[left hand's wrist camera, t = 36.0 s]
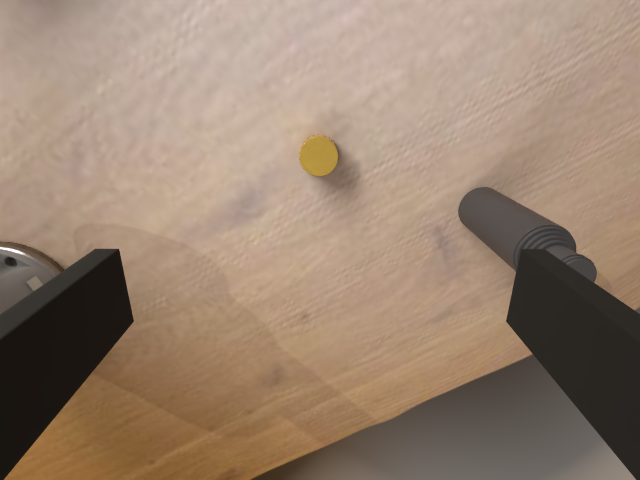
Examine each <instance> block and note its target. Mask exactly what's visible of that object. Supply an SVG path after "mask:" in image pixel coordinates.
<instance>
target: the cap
mask: <svg viewBox="0 0 640 480" xmlns="http://www.w3.org/2000/svg"><path fill="white" fill-rule="evenodd" d="M299 154H300V159H299V160H300V163H301V165H302V167H303V169H304V170H305V171H306V172H307V173H309V174H311V175H314V176H324V175H327V174H329V173H330V172H331V171H333V169H334V168H335V167H336V165H337V162H338V151H337V147H336V146H335V144H334V142H333V141H332V140H331V139H330V138H328V137H326V136H323V135H315V136H314V135H313V136H312V137H310V138H308V139H307V140H306V141H304V143H303V145H302V146H301V151H300V153H299Z"/></svg>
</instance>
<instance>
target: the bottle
mask: <svg viewBox="0 0 640 480" xmlns="http://www.w3.org/2000/svg"><path fill="white" fill-rule="evenodd" d="M459 218H460V220H461V222H462V223H463V224H464V225H465V226H466V227H467V228H468V229H469V230H471V231H472V232H473V233H474V234H475V235H476V236H477V237H478V238H479V239H481V240H482V241H483V242H484V243H485V244H486V245H487V246H488V247H489V248H491V249H492V250H493V251H494V252H495V253H496V254H497V255H498V256H499V257H501V258H502V259H503V260H504V261H505V262H506V263H507V264H508V265H509V266H511V267H512V268H513V269H514V270H515V271H517V266H518V261H519V256H520V252H521V249H545V250H547V251H548V252H550V253H551V254H553V255H554V256H555V257H557V258H558V259H560V260H561V261H563V262H564V263H566V264H567V265H569V266H570V267H572V268H573V269H574V270H576V271H577V272H579V273H580V274H582V275H583V276H585V277H586V278H588V279H589V280H590V281H592V282H593V283H594V281H595V279H596V275H597V271H596V267H595V265H594V263H593V262H592V261H591V260H590V259H588V258H586V257H585V256H583V255H580V254H578V253H576V244H575V241H574V239H573V237H572V235H571V234H570V233H569V232H568V231H567V230H566V229H565V228H563V227H561V226H559V225H558V224H556V223H554V222H552V221H550V220H548V219H547V218H545V217H543V216H541V215H539V214H537V213H536V212H534V211H532V210H530V209H528V208H526V207H525V206H523V205H521V204H519V203H517V202H515V201H514V200H512V199H510V198H508V197H506V196H504V195H503V194H501V193H499V192H497V191H495V190H493V189H491V188H487V187H482V188H477V189H474V190H472V191H470V192H469V193H468V194H467V195H465V197H464V198H463V199H462V201H461V203H460V206H459Z"/></svg>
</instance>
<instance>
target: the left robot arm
mask: <svg viewBox="0 0 640 480" xmlns="http://www.w3.org/2000/svg"><path fill="white" fill-rule="evenodd" d="M133 322H134V320H133V315H132V310H131V305H130V301H129V296H128V291H127V286H126V281H125V276H124V271H123V266H122V261H121V256H120V252H119V249H95V250H93V251H92V252H90V253H89V254H87V255H86V256H85V257H83V258H82V259H80V260H79V261H77V262H76V263H74V264H73V265H71V266H70V267H68V268H67V269H66V270H63V269H62V268H61V267H60V266H59V265H58V264H57V263H56V262H55V261H53V260H52V259H51V258H49V257H48V256H46V255H44V254H43V253H41V252H39V251H37V250H35V249H33V248H30V247H27V246H24V245H21V244H17V243H11V242H0V480H4V479H5V477H6V476H7V475H8V474H9V472H10V471H11V470H12V469H13V468H14V466H15V465H16V464H17V463H18V462H19V460H20V459H21V458H22V457H23V455H24V454H25V453H26V452H27V451H28V449H29V448H30V447H31V446H32V445H33V443H34V442H35V441H36V440H37V438H38V437H39V436H40V435H41V434H42V432H43V431H44V430H45V429H46V427H47V426H48V425H49V424H50V423H51V421H52V420H53V419H54V418H55V417H56V415H57V414H58V413H59V412H60V410H61V409H62V408H63V407H64V406H65V404H66V403H67V402H68V401H69V400H70V398H71V397H72V396H73V395H74V393H75V392H76V391H77V390H78V389H79V387H80V386H81V385H82V384H83V382H84V381H85V380H86V379H87V378H88V376H89V375H90V374H91V373H92V372H93V370H94V369H95V368H96V367H97V365H98V364H99V363H100V362H101V361H102V359H103V358H104V357H105V356H106V355H107V353H108V352H109V351H110V350H111V348H112V347H113V346H114V345H115V344H116V342H117V341H118V340H119V339H120V337H121V336H122V335H123V334H124V333H125V331H126V330H127V329H128V328H129V327H130V325H131V324H132V323H133ZM506 322H507V323H508V324H509V325H510V327H511V328H512V329H513V330H514V331H515V333H516V334H517V335H518V336H519V338H520V339H521V340H522V341H523V342H524V344H525V345H526V346H527V347H528V348H529V350H530V351H531V352H532V353H533V355H534V356H535V357H536V358H537V359H538V361H539V362H540V363H541V364H542V365H543V367H544V368H545V369H546V370H547V372H548V373H549V374H550V375H551V376H552V378H553V379H554V380H555V381H556V382H557V384H558V385H559V386H560V387H561V389H562V390H563V391H564V392H565V393H566V395H567V396H568V397H569V398H570V399H571V401H572V402H573V403H574V404H575V405H576V407H577V408H578V409H579V410H580V412H581V413H582V414H583V415H584V417H585V418H586V419H587V420H588V421H589V423H590V424H591V425H592V426H593V427H594V429H595V430H596V431H597V432H598V434H599V435H600V436H601V437H602V438H603V440H604V441H605V442H606V443H607V445H608V446H609V447H610V448H611V449H612V451H613V452H614V453H615V454H616V455H617V457H618V458H619V459H620V460H621V462H622V463H623V464H624V465H625V466H626V468H627V469H628V470H629V471H630V472H631V474H632V475H633V476H634V477H635V478H636V480H640V314H639V313H637V312H636V311H634V310H633V309H631V308H630V307H628V306H627V305H625V304H624V303H623V302H621V301H620V300H618V299H617V298H615V297H614V296H612V295H611V294H609V293H608V292H607V291H605V290H604V289H602V288H601V287H599V286H598V285H596V284H595V283H593V282H592V281H590V280H589V279H588V278H586V277H585V276H583V275H582V274H580V273H579V272H577V271H576V270H574V269H573V268H572V267H570V266H569V265H567V264H566V263H564V262H563V261H561V260H560V259H558V258H557V257H555V256H554V255H553V254H551V253H550V252H548V251H547V250H545V249H521V252H520V256H519V261H518V266H517V271H516V276H515V281H514V286H513V291H512V296H511V300H510V305H509V310H508V315H507V320H506Z"/></svg>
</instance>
